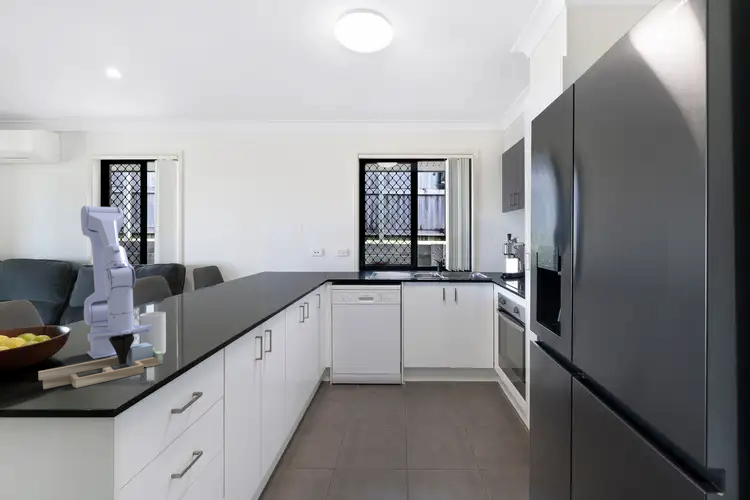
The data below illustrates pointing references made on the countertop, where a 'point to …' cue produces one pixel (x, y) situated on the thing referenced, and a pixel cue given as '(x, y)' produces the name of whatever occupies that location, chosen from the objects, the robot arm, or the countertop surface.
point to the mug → (155, 330)
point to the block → (139, 352)
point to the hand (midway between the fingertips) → (122, 363)
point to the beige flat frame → (69, 377)
